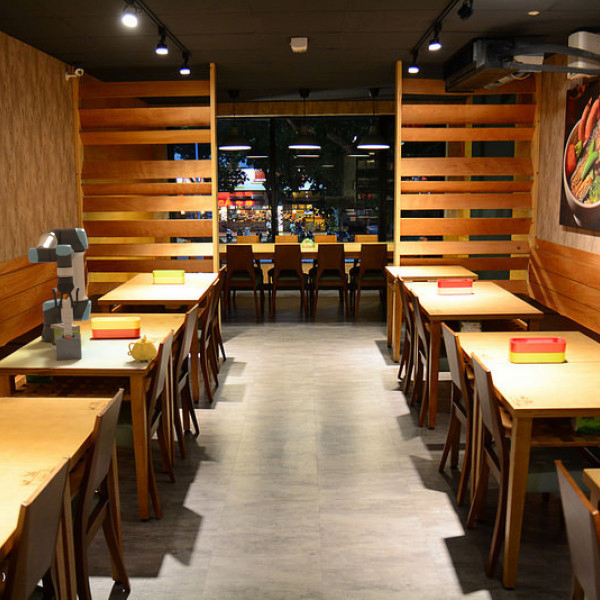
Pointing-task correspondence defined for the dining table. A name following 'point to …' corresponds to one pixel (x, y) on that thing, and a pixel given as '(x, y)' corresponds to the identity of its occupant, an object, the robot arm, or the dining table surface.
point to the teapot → (143, 350)
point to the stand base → (68, 347)
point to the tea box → (61, 332)
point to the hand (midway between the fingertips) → (67, 321)
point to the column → (67, 318)
